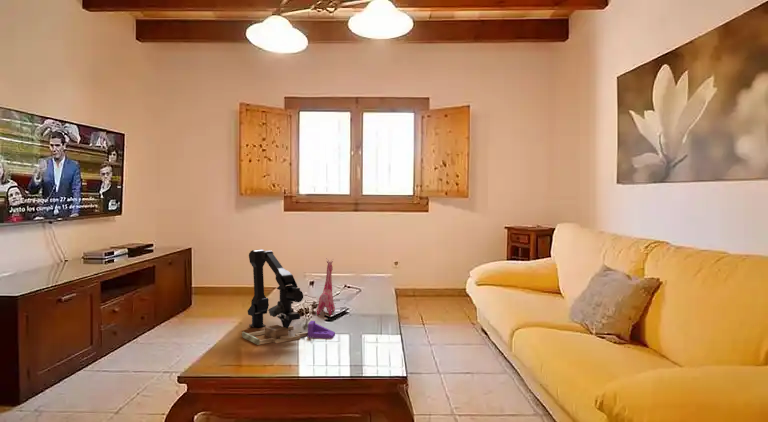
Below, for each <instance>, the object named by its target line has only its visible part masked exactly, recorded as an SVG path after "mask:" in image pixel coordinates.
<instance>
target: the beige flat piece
mask: <svg viewBox="0 0 768 422" xmlns="http://www.w3.org/2000/svg"><path fill="white" fill-rule="evenodd" d="M294 327H295V326H294V325H289V327H288V331H290V330H294ZM261 335H265V329H264V330H258V331H252V332H245V331H242V332H241V337H242V338H243V339H244V340H247V341H249V342H251V343H253V344H255V345H256V346H257V345H258V346H259V345H264V344H269V343H274V344H279V343H284V342H290V341H295V340H300V339H301V338H303V337H308V331H306V332H305V331H304V332H300V333H299V332H298V333H295V334H294V336H290V335H289V334H288V335H287V336H281V337H280V339H277V340H276V339H274V338H270V337H269V338H264V339H260V338H258V337H257V336H261Z"/></svg>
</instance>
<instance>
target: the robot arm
mask: <svg viewBox="0 0 768 422" xmlns="http://www.w3.org/2000/svg"><path fill="white" fill-rule="evenodd" d="M248 258H249V263H250V265H251V267H252V268H253V269H252V272H253V293H254V294H253V297H252V299H251V303H250V306H249V308H248V309H247V314H248V316H251V323H250V324H249V325H248V326H249V327H251V328H253V329H255V328H256V329H257V328H261V327H267V325H266V324H264V315H266V314H267V313H268V314H269V315H270V317H274V318H275V317H276V318H278V319H279V320H280V322H281V326H282V327H285V328H288V327H289V326H291V324H292V321H296V320H300V319H301V314H300V313H299V312H296V311H294V309H292V304H294V302H295V303H301V302H302V301H303V299H304V293H303V292H302V290H301V288H300V287H298V284H297V282H296V280H295V278H294V277H295V276H294V275H293V274H292V272H290V271H289V270H287V269H285V268H284V267H283V265H282V264H281V263H280V261H279V260H278V259H277V258H276V256H275V254H274V252H273V250H271V249H270V250H264V249H254V250H253V249H252V250H250V252H249V253H248ZM266 263H267V265H268V267H270V269H271V270H272V272H273V273H274V275H275V280H276V283H277V285H278V286H277V288H276V289H277V290H279V301H277V304H276V305H274V306H272V307H270V308H269V306H270V305H269V304H270V303H269V298H268V297H267V296H266V295H265V286H264V285H265V283H264V279H265V278H264V265H265V264H266Z"/></svg>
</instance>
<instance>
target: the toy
mask: <svg viewBox="0 0 768 422" xmlns="http://www.w3.org/2000/svg"><path fill="white" fill-rule="evenodd" d="M333 260H334V258H332V259H331V260H329V259H328V258H326V263H327V265H326V277H325V283H324V286H323V291H322V293H321V295H320V296H319V298H318V306H317V308H316V315H320V314H321V312H322V311H324V310H325V308H326V312H327V314H328V316H331V315H332V312H334V311H335V310H336V306H335V302H334V296H333V282H332V281H333V280H332V277H333V276H332V274H333V273H332V272H333V267H334V266H333V262H334V261H333Z"/></svg>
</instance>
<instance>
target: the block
mask: <svg viewBox="0 0 768 422" xmlns="http://www.w3.org/2000/svg"><path fill="white" fill-rule="evenodd" d="M264 330H265V334H264V336H266V337H268V338H269V339H270V338H274V339H276V340H277V339H280V337H281V336H287V335H288V336H289V330H288V328H285V327H283V325H279V324H275V325H274V324H273V325H266V326H264Z"/></svg>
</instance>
